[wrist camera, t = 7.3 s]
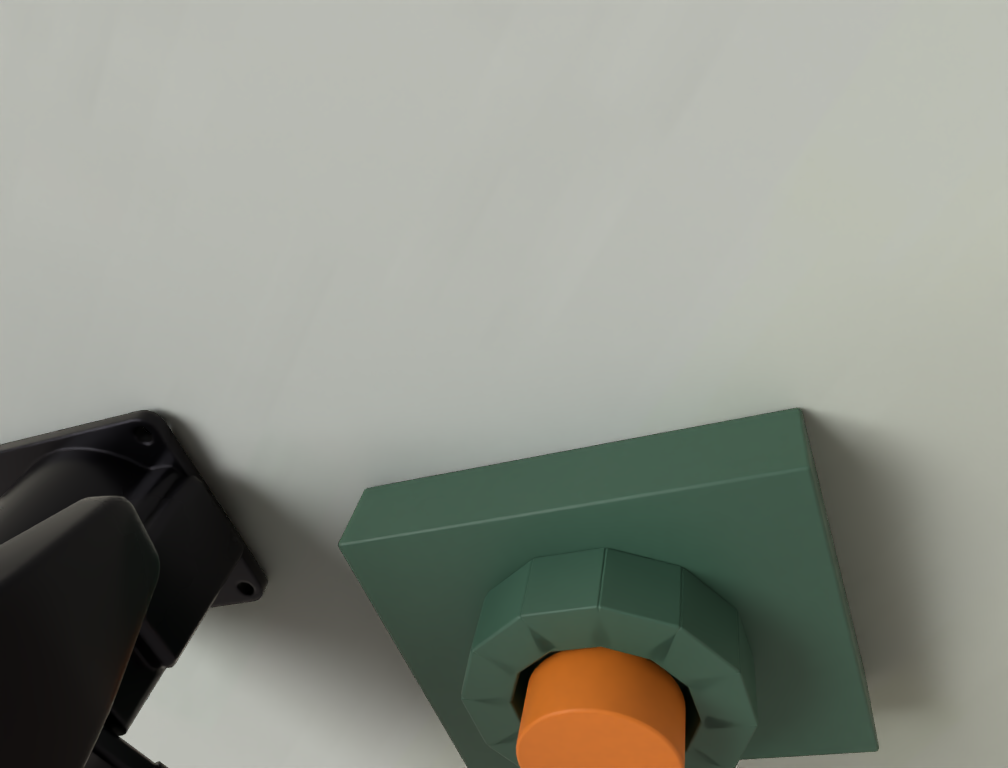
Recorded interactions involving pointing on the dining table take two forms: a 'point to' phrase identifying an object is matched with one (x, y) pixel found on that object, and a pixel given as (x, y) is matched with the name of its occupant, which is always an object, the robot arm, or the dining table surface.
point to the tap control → (627, 586)
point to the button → (601, 713)
